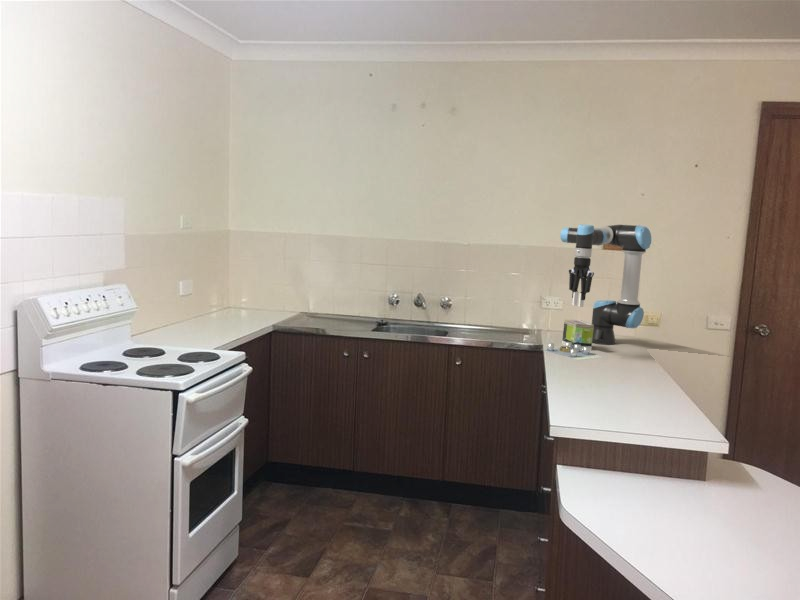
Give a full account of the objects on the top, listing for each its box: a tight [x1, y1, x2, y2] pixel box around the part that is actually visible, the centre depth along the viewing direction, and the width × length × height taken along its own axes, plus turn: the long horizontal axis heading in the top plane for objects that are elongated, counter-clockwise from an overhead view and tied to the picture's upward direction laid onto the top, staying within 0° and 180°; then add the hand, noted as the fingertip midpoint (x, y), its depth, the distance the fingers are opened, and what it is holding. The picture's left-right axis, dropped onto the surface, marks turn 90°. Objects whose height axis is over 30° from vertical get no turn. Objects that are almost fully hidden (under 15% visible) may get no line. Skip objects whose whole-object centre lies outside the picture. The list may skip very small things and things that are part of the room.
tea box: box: [561, 319, 594, 351], centre depth 340 cm, size 15×10×15 cm
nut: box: [559, 345, 570, 352], centre depth 327 cm, size 4×5×2 cm
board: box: [543, 348, 602, 361], centre depth 323 cm, size 18×22×1 cm
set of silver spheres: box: [546, 342, 591, 358], centre depth 324 cm, size 15×17×4 cm
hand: (577, 305), depth 320 cm, fingers open, 3 cm apart
